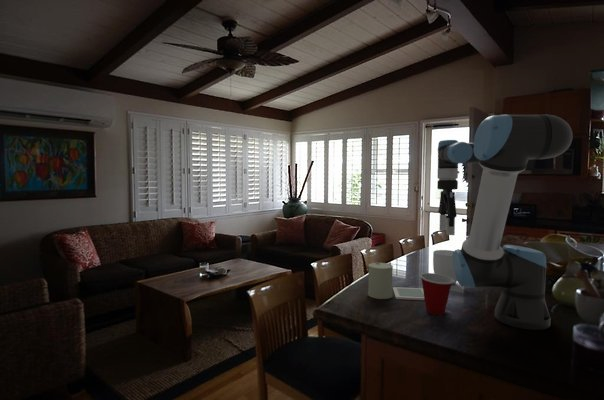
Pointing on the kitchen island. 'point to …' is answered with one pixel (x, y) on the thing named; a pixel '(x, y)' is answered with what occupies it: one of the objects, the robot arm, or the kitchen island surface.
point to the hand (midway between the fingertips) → (446, 232)
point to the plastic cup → (436, 292)
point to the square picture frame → (409, 293)
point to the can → (380, 280)
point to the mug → (444, 263)
